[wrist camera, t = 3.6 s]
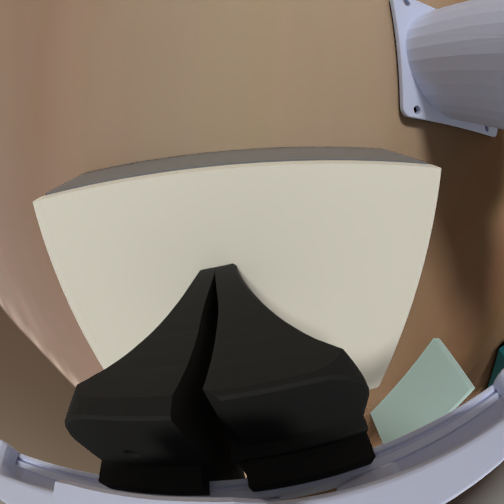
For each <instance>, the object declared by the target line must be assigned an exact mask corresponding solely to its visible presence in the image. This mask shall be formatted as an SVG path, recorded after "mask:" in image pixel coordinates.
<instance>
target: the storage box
mask: <svg viewBox="0 0 504 504" xmlns="http://www.w3.org/2000/svg"><path fill="white" fill-rule="evenodd" d="M317 160H352V161H386V162H404V163H419V164H427V162H424V161H421V160H418V159H415V158H412V157H408V156H405V155H402V154H399V153H395V152H392V151H389V150H385V149H377V148H356V147H281V148H259V149H243V150H230V151H219V152H208V153H199V154H191V155H182V156H175V157H168V158H161V159H154V160H148V161H142V162H136V163H130V164H125V165H120V166H115V167H110V168H105V169H100V170H95V171H91V172H86V173H83V174H81V175H79V176H77V177H76V178H74V179H72V180H70V181H68V182H66V183H64V184H62V185H60V186H58V187H57V188H55V189H53V190H51V191H49V192H48V193H46V194H45V195H49V194H53V193H57V192H61V191H66V190H70V189H74V188H79V187H83V186H88V185H93V184H98V183H103V182H108V181H113V180H119V179H124V178H130V177H136V176H142V175H149V174H155V173H162V172H170V171H177V170H185V169H194V168H203V167H212V166H223V165H234V164H247V163H263V162H282V161H317Z"/></svg>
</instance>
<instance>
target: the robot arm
mask: <svg viewBox="0 0 504 504" xmlns="http://www.w3.org/2000/svg"><path fill="white" fill-rule="evenodd" d="M403 1H404V2H405V3H406V5H407V6H406V5H405V4H404V2H403ZM390 4H391V10H392V16H393V23H394V30H395V38H396V46H397V57H398V69H399V87H400V110H401V112H402V114H403V115H404V116H406V117H410V118H416V119H421V120H427V121H432V122H437V123H441V124H446V125H450V126H455V127H459V128H463V129H467V130H470V131H474V132H478V133H481V134H485V135H488V136H491V137H495V136H496V135H497V128H499V129H503V130H504V0H470V1H466V2H462V3H458V4H454V5H450V6H446V7H443V8H439V9H435V8H433V7H430V6H428V5H426V4H423V3H421V2H419V1H416V0H390ZM414 107H416V109H417V111H416V113H415V112H414ZM368 397H369V387H368V385H367V382H366V380H365V378H364V376H363V375H362V373H361V372H360V370H359V369H358V367H357V366H356V364H355V363H354V362H353V360H352V359H351V358H350V357H349V355H348V354H347V353H346V352H345V350H344V349H342V348H339V347H336V346H334V345H331V344H328V343H326V342H323V341H320V340H318V339H315V338H313V337H311V336H309V335H307V334H305V333H303V332H302V331H300V330H298V329H297V328H295V327H293V326H292V325H290V324H288V323H287V322H285V321H284V320H282V319H281V318H280V317H278V316H277V315H276V314H275V313H273V312H272V311H271V310H270V309H269V308H267V307H266V306H265V305H264V304H263V303H262V302H261V301H260V300H259V299H258V298H257V297H256V296H255V294H254V293H253V292H252V291H251V290H250V288H249V287H248V286H247V285H246V283H245V282H244V280H243V279H242V277H241V276H240V274H239V272H238V269H237V265H235V264H233V263H232V264H227V265H223V266H218V267H217V268H216V267H213V268H208V269H203V270H200V271H199V273H198V274H197V275H196V277H195V278H194V280H193V281H192V283H191V284H190V286H189V287H188V289H187V290H186V292H185V293H184V295H183V296H182V297H181V299H180V300H179V302H178V303H177V304H176V305H175V307H174V308H173V309H172V310H171V312H170V313H169V314H168V315H167V317H166V318H165V319H164V320H163V321H162V322H161V323H160V324H159V325H158V326H157V327H156V329H155V330H154V331H153V332H152V333H151V334H150V335H148V336H147V337H146V338H145V339H144V340H143V341H142V342H140V343H139V344H138V345H137V346H136V347H135V348H133V349H132V350H131V351H130V352H129V353H127V354H126V355H125V356H123V357H122V358H121V359H119V360H118V361H116V362H115V363H113V364H112V365H111V366H109V367H107V368H106V369H104V370H103V371H101V372H99V373H98V374H96V375H94V376H92V377H90V378H89V379H87V380H85V381H83V382H81V383H80V384H78V385H77V386H76V389H75V392H74V395H73V398H72V401H71V403H70V406H69V409H68V412H67V416H66V419H65V426H66V428H67V430H68V432H69V433H70V435H71V436H72V437H73V438H74V439H75V440H76V441H78V442H79V443H80V444H81V445H83V446H84V447H85V448H86V449H88V450H89V451H90V452H92V453H93V454H94V455H96V456H97V457H98V458H100V459H101V460H102V462H101V468H100V474H94V473H89V472H84V471H78V470H74V469H70V468H66V467H62V466H58V465H55V464H51V463H48V462H44V461H41V460H38V459H35V458H32V457H29V456H26V455H23V454H20V453H18V451H17V450H16V449H14V448H13V447H12V446H11V445H9V444H8V443H6V442H5V441H3V440H1V439H0V500H2V501H3V502H5V503H6V504H445V503H447V502H449V501H450V500H452V499H453V498H455V497H456V496H458V495H459V494H461V493H462V492H464V491H465V490H467V489H468V488H469V487H471V486H472V485H474V484H475V483H476V482H478V481H479V480H480V479H482V478H483V477H484V476H485V475H487V474H488V473H489V472H491V471H492V470H493V469H494V468H495V467H496V466H498V465H499V464H500V463H501V462H502V461H504V368H503V369H502V370H501V372H500V373H499V374H498V376H497V377H496V379H495V381H494V383H493V385H491V386H490V387H488V388H487V389H486V390H484V391H483V392H481V393H480V394H478V395H477V396H475V397H474V398H472V399H471V400H469V401H467V402H466V403H464V404H463V405H461V406H459V407H458V408H456V409H454V410H453V411H451V412H449V413H447V414H445V415H444V416H442V417H440V418H438V419H436V420H434V421H433V422H431V423H429V424H427V425H425V426H423V427H421V428H419V429H416V430H414V431H412V432H410V433H408V434H406V435H403V436H401V437H399V438H397V439H394V440H392V441H389V442H387V443H384V444H382V445H379V446H377V447H374V448H372V445H371V443H370V440H369V437H368V435H367V431H368V426H367V424H366V421H365V419H364V416H363V415H364V412H365V408H366V405H367V401H368ZM244 472H245V473H246V475H247V478H245V476H244ZM337 487H338V488H337ZM333 488H337V491H336V492H331V493H326V494H321V495H316V496H311V497H305V498H298V499H291V500H285V499H290V498H295V497H300V496H305V495H309V494H314V493H317V492H321V491H325V490H329V489H333ZM279 500H283V501H279ZM272 501H274V502H272Z"/></svg>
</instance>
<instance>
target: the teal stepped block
mask: <svg viewBox="0 0 504 504" xmlns="http://www.w3.org/2000/svg"><path fill="white" fill-rule="evenodd" d="M503 368H504V345H503V346H502V347H501V348H500V349H499V350H498V354H497V358H496V362H495V365H494V369H493V372H492V375H491V378H490V381H489V384H488V387H490V386H491V385H493V383H494V381H495V379H496V377H497V376H498V374H499V373H500V372H501V370H502V369H503ZM488 387H487V388H488Z"/></svg>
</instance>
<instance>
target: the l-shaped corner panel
mask: <svg viewBox="0 0 504 504" xmlns="http://www.w3.org/2000/svg"><path fill="white" fill-rule="evenodd" d="M474 389H475V387H474V386H473V384H472V383H471V381H470V380H469V378H468V377H467V375H466V374H465V373H464V371H463V370H462V368H461V367H460V366H459V364H458V363H457V361H456V360H455V359H454V357H453V356H452V355H451V353H450V352H449V351H448V349H447V348H446V347H445V345H444V344H443V343H442V341H441V340H440V339H439V338H433V340H432V341H431V342H430V344H429V345H428V347H427V348H426V349H425V351H424V352H423V353H422V354H421V356H420V357H419V358H418V360H417V361H416V362H415V363H414V365H413V366H412V367H411V368H410V370H409V371H408V372H407V373H406V374H405V376H404V377H403V378H402V379H401V380H400V381H399V383H398V384H397V385H396V386H395V387H394V388H393V389H392V391H391V392H390V393H389V394H388V395H387V396H386V397H385V398H384V399H383V400H382V401H381V402H380V404H379V405H378V406H377V407H376V408H375V409H374V410H373V411H372V412H371V413H370V414H371V416H372V419H373V421H374V423H375V426H376V428H377V431H378V433H379V435H380V438H381V440H382V443H383V444H384V443H387V442H389V441H392V440H394V439H397V438H399V437H401V436H403V435H406V434H408V433H410V432H412V431H414V430H416V429H419V428H421V427H423V426H425V425H427V424H429V423H431V422H433V421H434V420H436V419H438V418H440V417H442V416H444V415H445V414H447V413H449V412H451V411H453V410H454V409H456V408H457V407H458V406H459V405H460V404H461V403H462V402H463V401H464V400H465V399H466V398H467V396H468V395H469V394H470V393H471V392H472V391H473V390H474Z"/></svg>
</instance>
